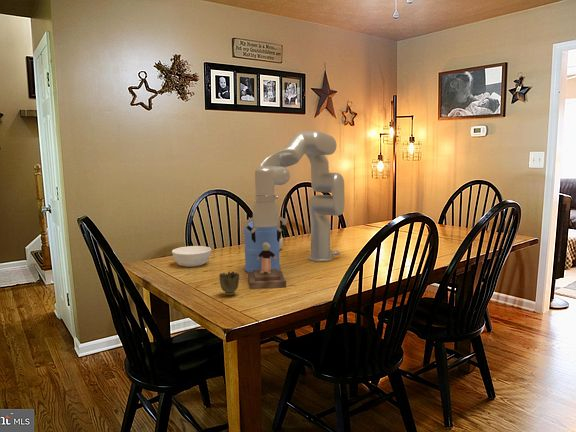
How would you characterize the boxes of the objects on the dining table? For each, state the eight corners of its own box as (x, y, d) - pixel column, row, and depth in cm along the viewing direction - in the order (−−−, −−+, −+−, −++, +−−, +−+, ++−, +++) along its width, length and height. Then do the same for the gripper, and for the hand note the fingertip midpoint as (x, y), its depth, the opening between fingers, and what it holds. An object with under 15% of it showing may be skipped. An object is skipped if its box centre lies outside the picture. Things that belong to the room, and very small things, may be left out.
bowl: (193, 258, 229) (192, 244, 228) (219, 263, 218) (219, 248, 217) (164, 266, 214) (163, 251, 213) (191, 271, 204) (190, 255, 202)
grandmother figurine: (257, 274, 183) (256, 243, 181) (257, 271, 186) (256, 241, 185) (276, 273, 183) (276, 242, 181) (276, 271, 187) (275, 240, 185)
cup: (222, 299, 165) (221, 277, 163) (217, 293, 171) (216, 273, 170) (242, 296, 167) (241, 275, 166) (236, 291, 174) (235, 270, 173)
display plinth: (281, 276, 194) (281, 267, 193) (286, 287, 178) (286, 277, 178) (248, 278, 192) (248, 268, 191) (250, 289, 176) (250, 279, 176)
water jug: (281, 274, 197) (280, 210, 193) (244, 275, 196) (243, 211, 192) (279, 265, 212) (278, 206, 208) (245, 266, 211) (244, 206, 207)
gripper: (285, 197, 185) (286, 238, 188) (242, 198, 183) (244, 240, 186) (288, 199, 178) (289, 242, 181) (243, 201, 176) (245, 244, 178)
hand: (266, 241), depth 183 cm, fingers open, 9 cm apart
